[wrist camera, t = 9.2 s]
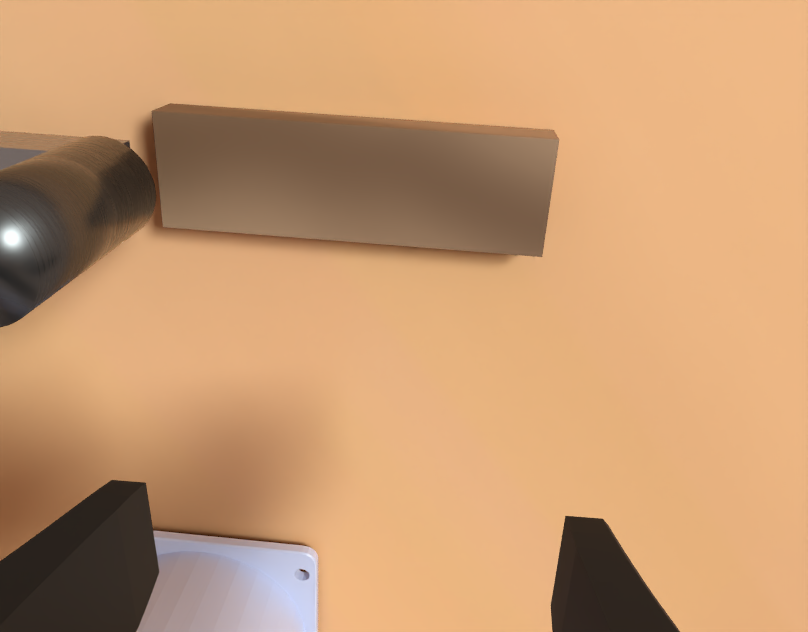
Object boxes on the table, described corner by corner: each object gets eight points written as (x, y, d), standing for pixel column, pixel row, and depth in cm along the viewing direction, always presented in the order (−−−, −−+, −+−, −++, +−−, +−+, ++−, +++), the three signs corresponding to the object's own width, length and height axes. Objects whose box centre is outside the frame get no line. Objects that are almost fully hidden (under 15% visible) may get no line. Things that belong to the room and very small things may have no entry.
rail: (537, 241, 19) (542, 256, 18) (179, 213, 20) (162, 226, 19) (553, 130, 18) (559, 139, 17) (170, 103, 19) (151, 110, 17)
